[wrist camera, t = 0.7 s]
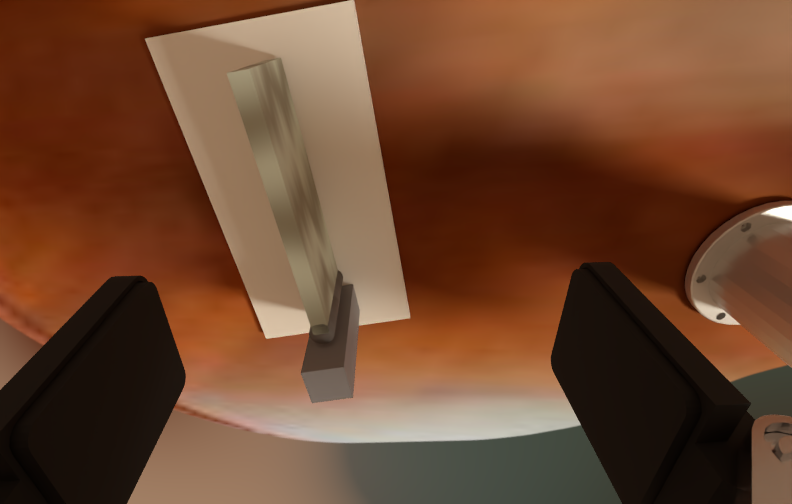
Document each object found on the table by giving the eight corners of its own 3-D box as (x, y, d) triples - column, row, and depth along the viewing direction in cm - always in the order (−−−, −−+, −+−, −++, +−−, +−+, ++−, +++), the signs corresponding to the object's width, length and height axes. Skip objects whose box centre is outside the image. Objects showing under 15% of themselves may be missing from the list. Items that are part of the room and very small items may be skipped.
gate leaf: (345, 284, 37) (336, 341, 30) (325, 287, 37) (312, 345, 30) (285, 56, 28) (255, 67, 21) (259, 61, 28) (220, 74, 21)
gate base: (409, 312, 40) (418, 405, 30) (268, 333, 41) (232, 430, 31) (354, 0, 27) (338, -12, 18) (150, 38, 28) (28, 46, 18)
